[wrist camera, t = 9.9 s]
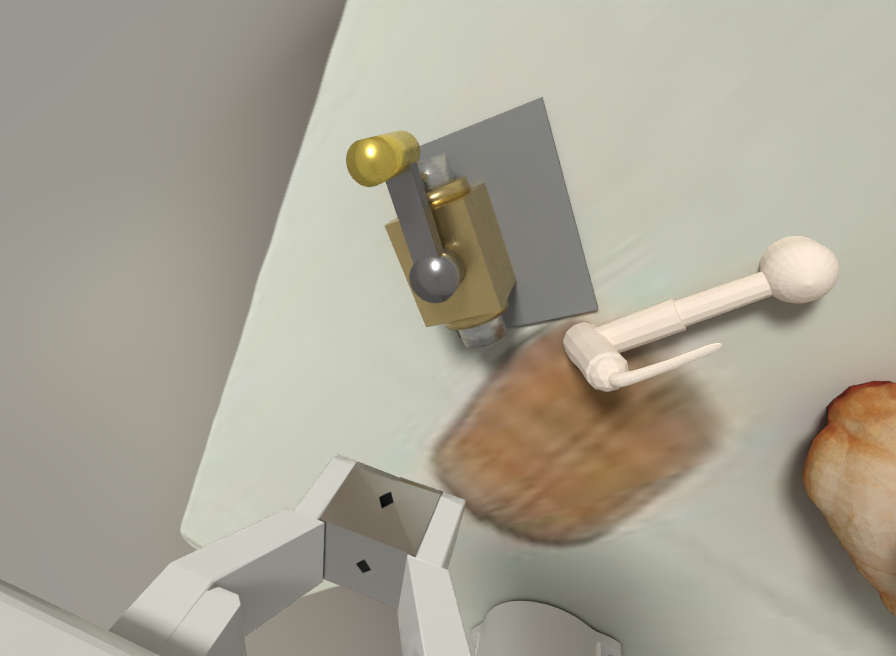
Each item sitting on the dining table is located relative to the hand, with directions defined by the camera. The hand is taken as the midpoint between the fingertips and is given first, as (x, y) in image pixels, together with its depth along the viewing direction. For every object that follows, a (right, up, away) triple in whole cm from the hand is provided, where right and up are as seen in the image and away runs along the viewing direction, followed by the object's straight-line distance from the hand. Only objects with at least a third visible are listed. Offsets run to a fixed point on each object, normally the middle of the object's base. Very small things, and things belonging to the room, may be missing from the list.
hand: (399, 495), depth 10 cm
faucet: (+19, +6, +25) cm, 32 cm away
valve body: (+3, +11, +27) cm, 29 cm away
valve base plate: (+5, +11, +27) cm, 29 cm away
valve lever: (0, +11, +21) cm, 24 cm away
